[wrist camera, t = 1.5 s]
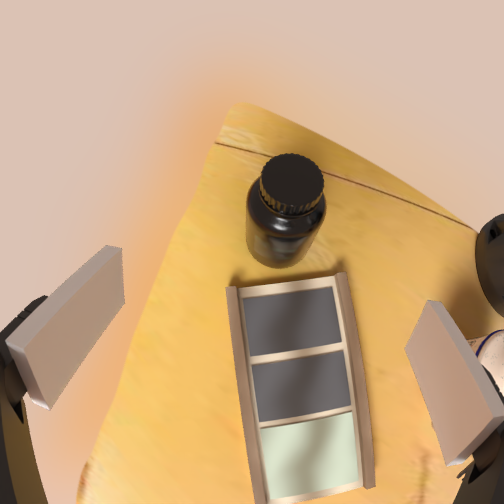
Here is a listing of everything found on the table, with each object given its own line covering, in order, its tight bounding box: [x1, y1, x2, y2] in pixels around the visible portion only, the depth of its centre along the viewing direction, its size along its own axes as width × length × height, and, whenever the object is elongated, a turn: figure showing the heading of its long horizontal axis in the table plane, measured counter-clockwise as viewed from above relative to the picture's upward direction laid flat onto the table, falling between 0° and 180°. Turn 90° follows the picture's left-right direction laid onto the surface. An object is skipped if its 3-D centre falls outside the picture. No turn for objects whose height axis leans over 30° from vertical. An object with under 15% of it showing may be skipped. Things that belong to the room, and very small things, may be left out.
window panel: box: [226, 272, 376, 504], centre depth 28 cm, size 12×23×2 cm, turn 7°
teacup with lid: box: [432, 330, 504, 431], centre depth 23 cm, size 12×9×12 cm
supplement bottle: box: [246, 153, 327, 269], centre depth 29 cm, size 7×7×12 cm
